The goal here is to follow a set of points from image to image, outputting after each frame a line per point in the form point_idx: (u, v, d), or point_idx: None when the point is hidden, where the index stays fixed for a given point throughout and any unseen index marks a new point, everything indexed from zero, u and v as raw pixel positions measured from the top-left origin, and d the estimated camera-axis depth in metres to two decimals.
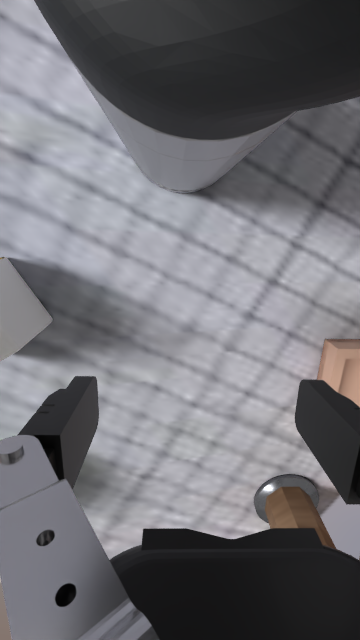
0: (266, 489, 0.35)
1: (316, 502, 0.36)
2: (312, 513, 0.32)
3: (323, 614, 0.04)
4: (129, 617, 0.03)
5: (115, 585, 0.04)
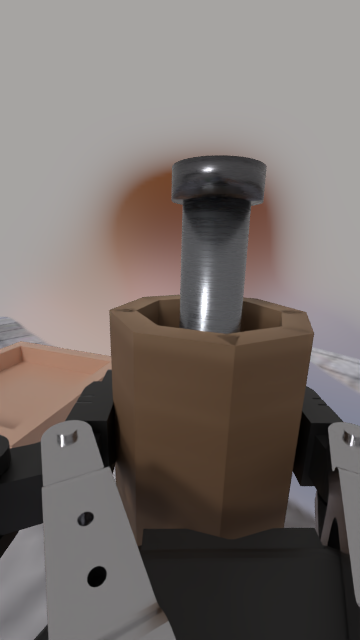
0: None
1: None
2: None
3: (323, 614, 0.04)
4: (151, 613, 0.03)
5: (142, 578, 0.04)
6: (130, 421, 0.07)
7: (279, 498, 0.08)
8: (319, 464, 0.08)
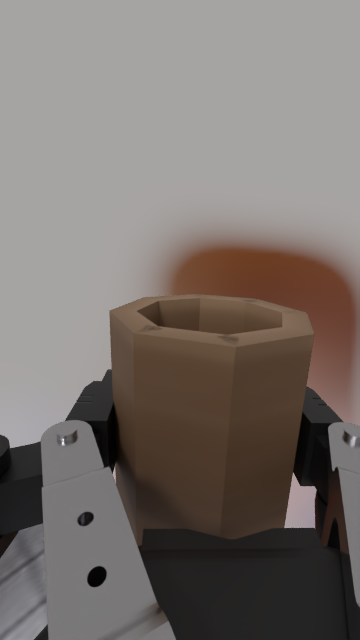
0: None
1: None
2: None
3: (323, 614, 0.04)
4: (151, 613, 0.03)
5: (142, 578, 0.04)
6: (130, 422, 0.07)
7: (279, 499, 0.08)
8: (319, 464, 0.08)
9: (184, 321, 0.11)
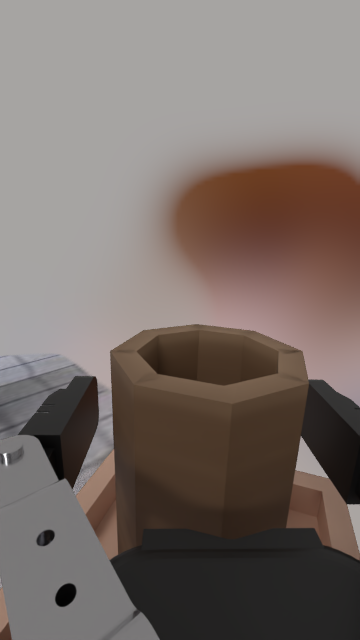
0: None
1: None
2: None
3: (323, 614, 0.04)
4: (129, 617, 0.03)
5: (115, 585, 0.04)
6: (130, 464, 0.08)
7: None
8: None
9: (183, 352, 0.11)
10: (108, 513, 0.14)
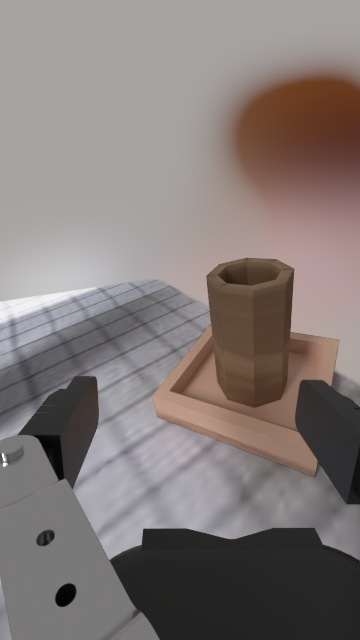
0: None
1: None
2: None
3: (323, 614, 0.04)
4: (129, 617, 0.03)
5: (115, 585, 0.04)
6: (218, 318, 0.20)
7: (278, 344, 0.20)
8: None
9: (239, 273, 0.22)
10: (207, 357, 0.28)
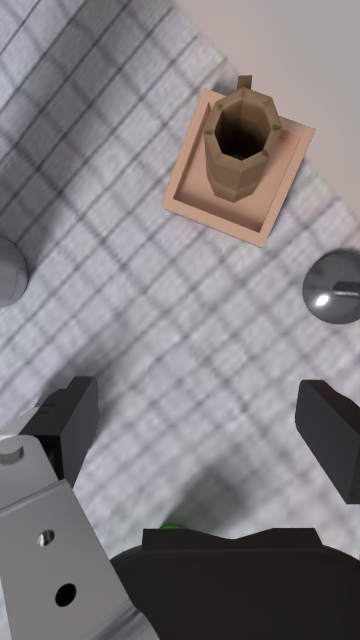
0: (310, 305, 0.33)
1: (357, 257, 0.32)
2: None
3: (323, 614, 0.04)
4: (129, 617, 0.03)
5: (115, 585, 0.04)
6: (213, 167, 0.25)
7: (256, 179, 0.26)
8: None
9: (234, 108, 0.22)
10: (197, 142, 0.32)
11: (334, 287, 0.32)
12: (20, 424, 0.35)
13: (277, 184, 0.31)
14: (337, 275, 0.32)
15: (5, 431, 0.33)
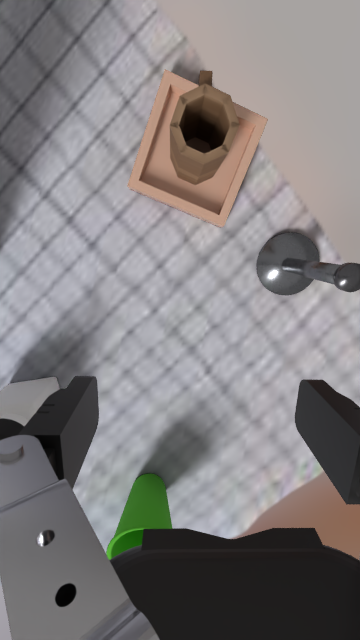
0: (263, 279, 0.38)
1: (301, 236, 0.37)
2: None
3: (323, 614, 0.04)
4: (129, 617, 0.03)
5: (115, 585, 0.04)
6: (178, 156, 0.27)
7: (216, 167, 0.29)
8: None
9: (196, 102, 0.24)
10: (160, 124, 0.33)
11: (282, 263, 0.37)
12: (0, 400, 0.36)
13: (234, 168, 0.34)
14: (285, 252, 0.37)
15: None
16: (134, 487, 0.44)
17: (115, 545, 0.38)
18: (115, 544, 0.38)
